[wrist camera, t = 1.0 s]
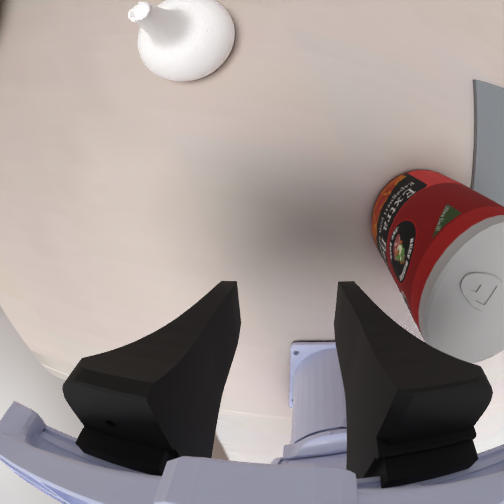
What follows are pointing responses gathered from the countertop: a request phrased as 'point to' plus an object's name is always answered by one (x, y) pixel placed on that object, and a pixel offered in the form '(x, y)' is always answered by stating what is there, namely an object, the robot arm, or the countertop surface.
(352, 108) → the countertop surface
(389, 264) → the canned food
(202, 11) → the garlic bulb
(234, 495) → the robot arm
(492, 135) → the slate mat
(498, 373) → the countertop surface
